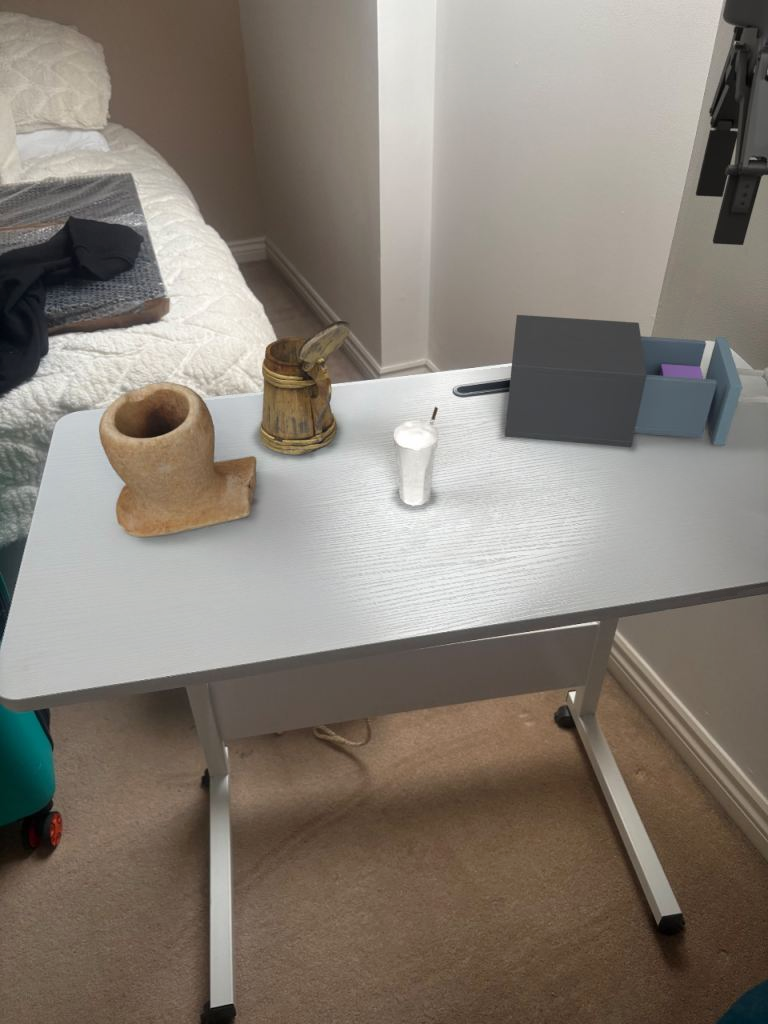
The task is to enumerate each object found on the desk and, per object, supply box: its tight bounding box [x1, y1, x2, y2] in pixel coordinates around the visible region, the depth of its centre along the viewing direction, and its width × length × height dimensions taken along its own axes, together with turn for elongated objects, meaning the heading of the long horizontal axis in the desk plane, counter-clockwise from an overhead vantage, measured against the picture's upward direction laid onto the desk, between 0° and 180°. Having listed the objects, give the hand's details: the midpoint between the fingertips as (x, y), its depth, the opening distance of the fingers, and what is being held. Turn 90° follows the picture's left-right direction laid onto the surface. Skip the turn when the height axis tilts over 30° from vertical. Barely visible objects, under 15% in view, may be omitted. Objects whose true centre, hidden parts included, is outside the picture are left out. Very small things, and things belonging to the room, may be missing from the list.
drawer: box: [634, 335, 768, 447], centre depth 97 cm, size 19×11×8 cm, turn 80°
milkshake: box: [393, 406, 439, 507], centre depth 87 cm, size 5×5×10 cm
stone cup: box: [98, 381, 257, 538], centre depth 83 cm, size 15×12×15 cm
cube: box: [659, 364, 704, 379], centre depth 98 cm, size 4×4×4 cm
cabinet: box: [504, 314, 647, 448], centre depth 99 cm, size 15×13×10 cm
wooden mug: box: [259, 320, 351, 456], centre depth 92 cm, size 9×14×18 cm, turn 39°
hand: (717, 218), depth 85 cm, fingers open, 13 cm apart
